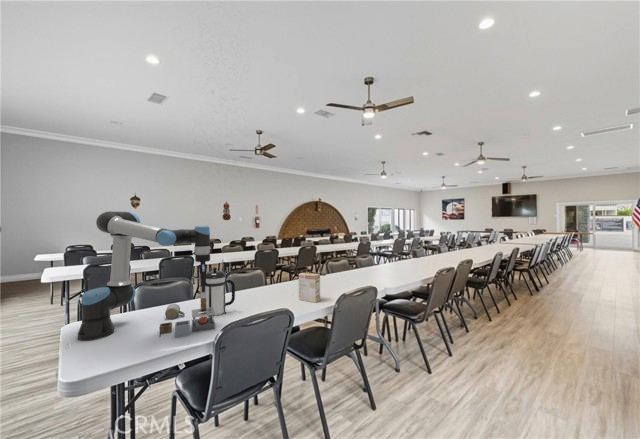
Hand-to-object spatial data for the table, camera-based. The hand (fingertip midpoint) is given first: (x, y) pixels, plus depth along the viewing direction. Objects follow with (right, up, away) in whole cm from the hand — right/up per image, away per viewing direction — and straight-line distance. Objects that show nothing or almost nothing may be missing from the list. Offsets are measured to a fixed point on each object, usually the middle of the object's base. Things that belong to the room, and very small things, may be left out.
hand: (203, 297), depth 156 cm
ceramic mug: (-26, -18, +21) cm, 38 cm away
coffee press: (-1, -18, +25) cm, 30 cm away
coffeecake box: (+56, -18, +56) cm, 80 cm away
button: (0, -16, 0) cm, 16 cm away
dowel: (0, -8, 0) cm, 8 cm away
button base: (0, -18, 0) cm, 18 cm away
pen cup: (-7, -18, -10) cm, 21 cm away
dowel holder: (-17, -18, -6) cm, 25 cm away
